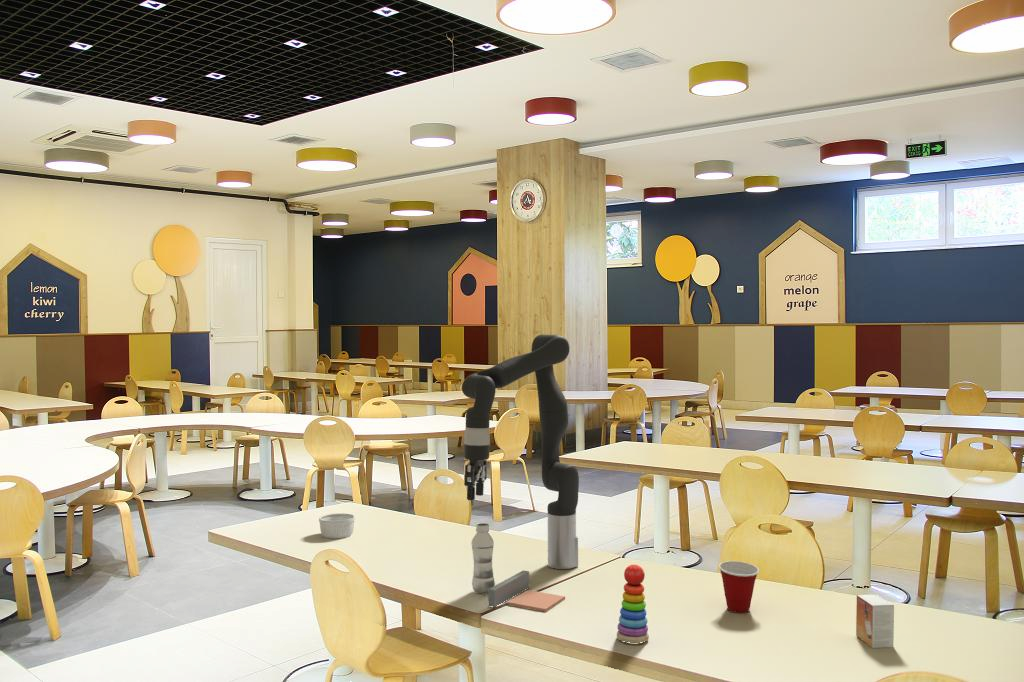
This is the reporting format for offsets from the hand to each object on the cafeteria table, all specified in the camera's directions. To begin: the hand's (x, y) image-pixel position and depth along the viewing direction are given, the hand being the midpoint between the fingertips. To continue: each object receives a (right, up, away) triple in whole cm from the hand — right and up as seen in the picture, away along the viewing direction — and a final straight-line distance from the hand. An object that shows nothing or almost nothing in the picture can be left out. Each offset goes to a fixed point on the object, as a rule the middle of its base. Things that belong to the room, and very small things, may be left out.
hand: (475, 497), depth 249 cm
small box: (+100, -28, -42) cm, 112 cm away
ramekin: (-54, -27, +66) cm, 90 cm away
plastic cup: (+73, -28, -18) cm, 80 cm away
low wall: (+10, -28, -6) cm, 30 cm away
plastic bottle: (+2, -28, -2) cm, 28 cm away
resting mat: (+18, -28, -11) cm, 34 cm away
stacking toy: (+41, -28, -39) cm, 63 cm away
